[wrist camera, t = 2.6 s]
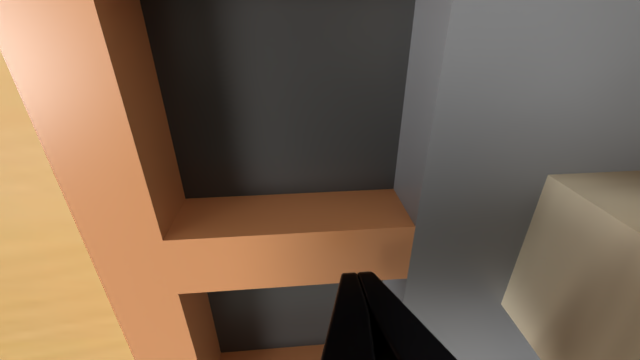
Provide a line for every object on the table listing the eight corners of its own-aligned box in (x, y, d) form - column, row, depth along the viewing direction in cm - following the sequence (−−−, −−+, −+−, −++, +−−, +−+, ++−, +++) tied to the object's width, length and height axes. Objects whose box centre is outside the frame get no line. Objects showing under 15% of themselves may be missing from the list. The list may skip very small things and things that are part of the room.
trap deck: (1041, -51, 10) (1803, -111, 5) (727, 318, 17) (900, 440, 12) (41, -63, 8) (-401, -188, 3) (181, 363, 15) (130, 533, 10)
